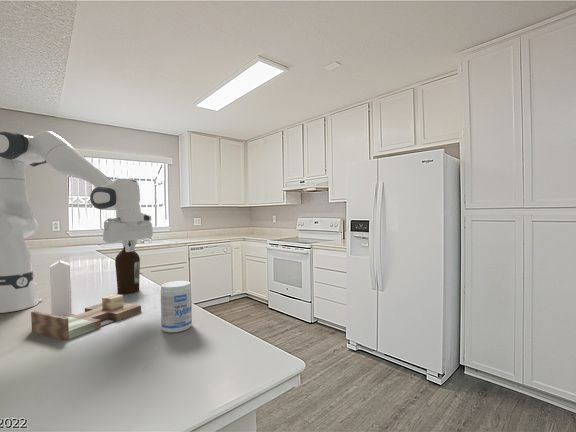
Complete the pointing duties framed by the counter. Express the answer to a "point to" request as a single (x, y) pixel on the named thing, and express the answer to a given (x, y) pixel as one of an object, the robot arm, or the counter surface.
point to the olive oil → (127, 271)
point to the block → (112, 301)
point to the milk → (60, 288)
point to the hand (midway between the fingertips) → (130, 251)
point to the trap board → (79, 320)
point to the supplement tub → (176, 306)
